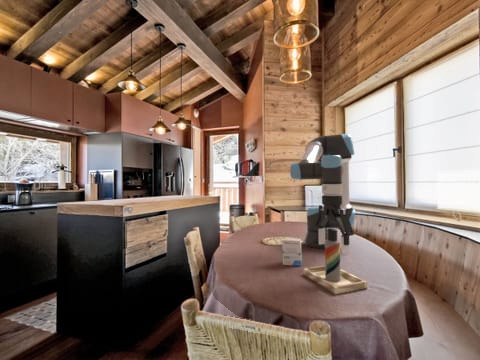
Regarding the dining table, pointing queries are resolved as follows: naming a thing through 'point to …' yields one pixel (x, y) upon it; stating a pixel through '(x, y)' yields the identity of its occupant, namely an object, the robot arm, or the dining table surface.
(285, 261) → the ink box
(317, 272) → the tray
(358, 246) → the dining table surface
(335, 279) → the lotion bottle
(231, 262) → the dining table surface
